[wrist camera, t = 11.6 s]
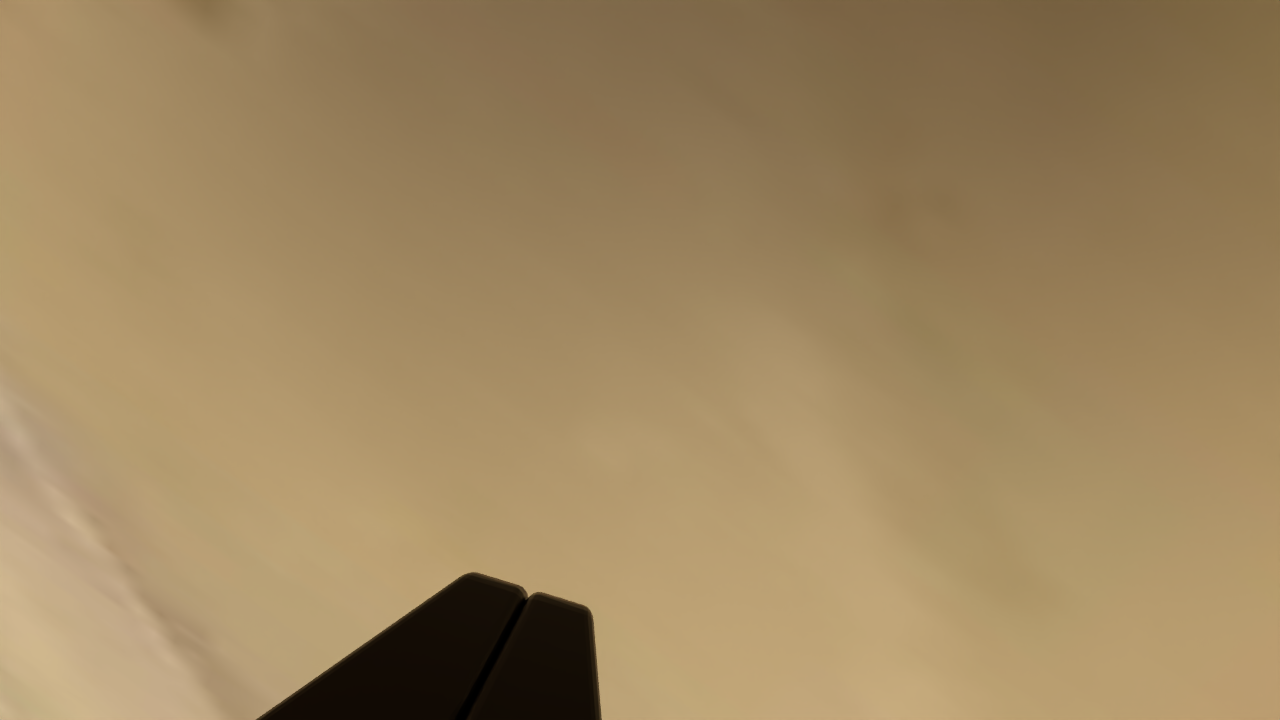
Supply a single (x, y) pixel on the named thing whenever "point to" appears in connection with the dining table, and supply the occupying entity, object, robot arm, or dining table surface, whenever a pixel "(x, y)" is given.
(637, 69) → the dining table surface
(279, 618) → the dining table surface
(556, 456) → the dining table surface
